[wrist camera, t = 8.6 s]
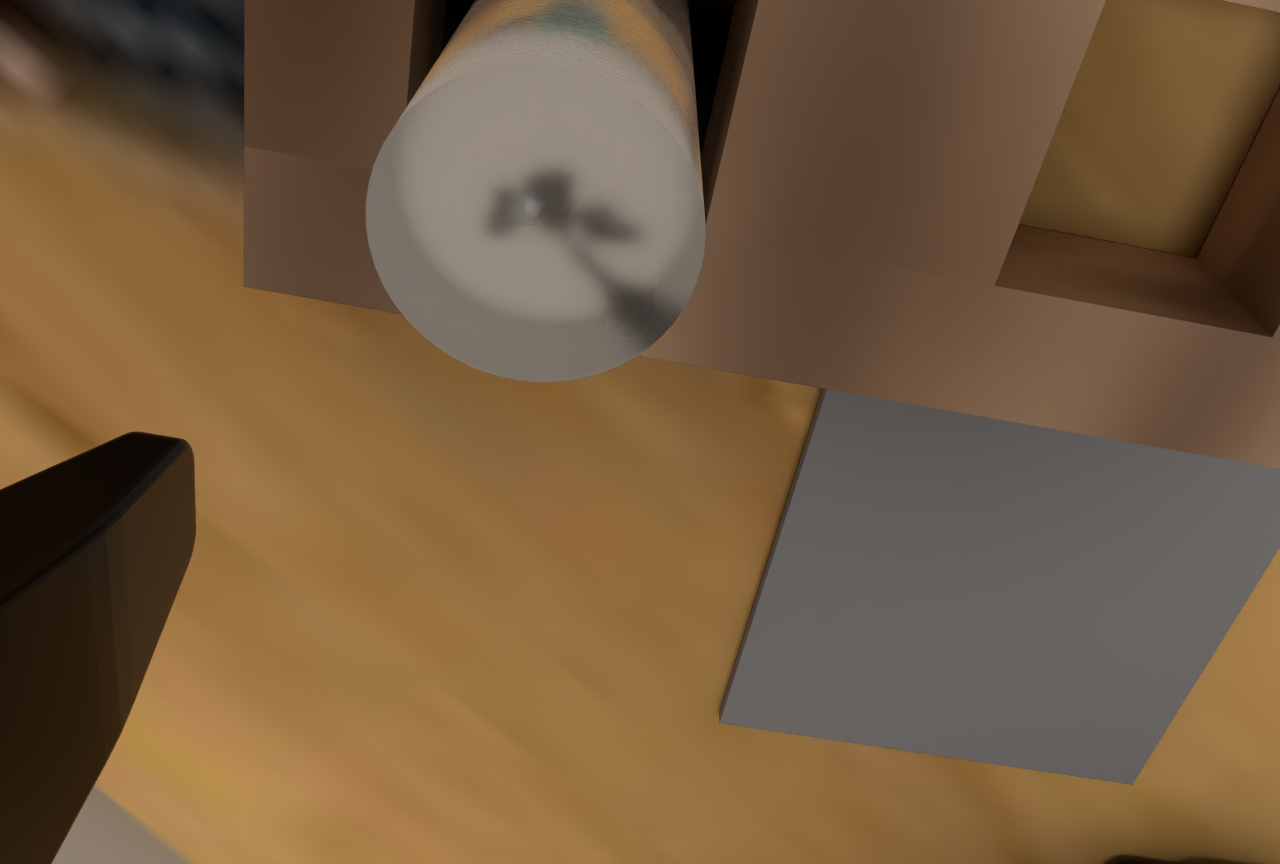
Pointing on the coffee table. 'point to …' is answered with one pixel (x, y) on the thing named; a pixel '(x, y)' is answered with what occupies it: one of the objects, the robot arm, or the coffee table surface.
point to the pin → (546, 188)
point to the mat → (996, 588)
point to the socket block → (842, 215)
